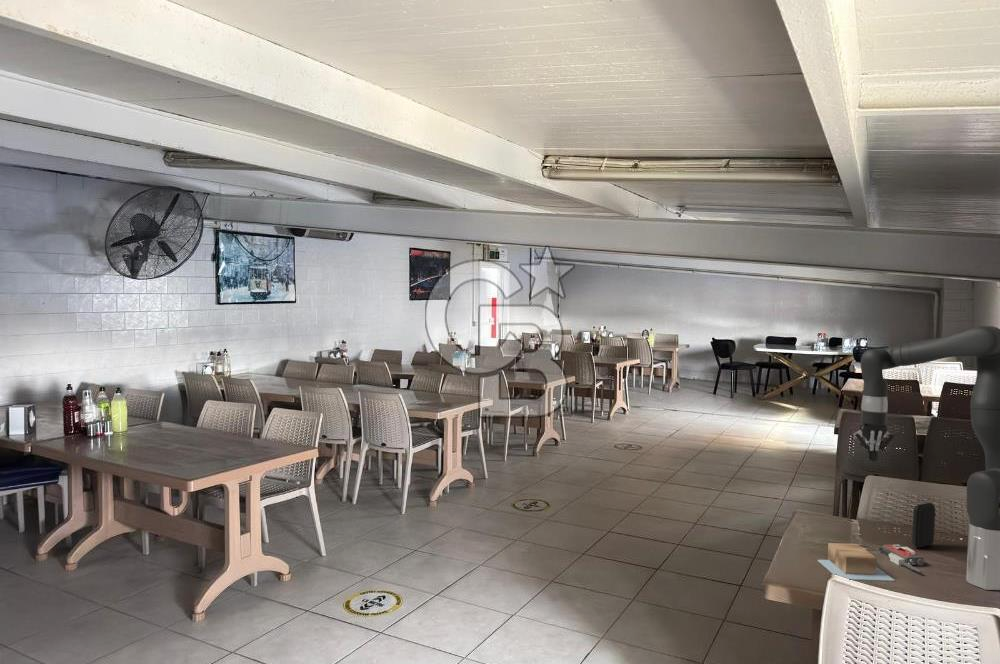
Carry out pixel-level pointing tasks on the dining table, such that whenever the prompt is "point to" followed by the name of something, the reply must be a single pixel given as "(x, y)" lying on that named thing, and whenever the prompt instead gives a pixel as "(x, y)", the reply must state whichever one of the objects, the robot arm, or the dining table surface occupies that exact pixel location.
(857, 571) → the wood grain block
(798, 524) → the dining table surface
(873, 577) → the mat
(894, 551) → the walkie-talkie
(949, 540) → the dining table surface
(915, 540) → the carrying case or bag
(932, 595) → the dining table surface
